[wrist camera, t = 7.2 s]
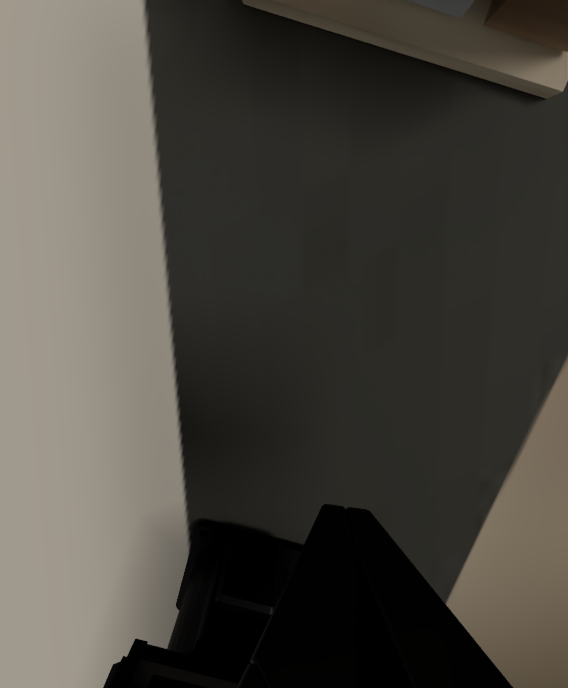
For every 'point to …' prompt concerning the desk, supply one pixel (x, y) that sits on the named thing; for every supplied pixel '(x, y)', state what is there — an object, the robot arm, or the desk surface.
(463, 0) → the slate block
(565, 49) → the walnut block
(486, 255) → the desk surface
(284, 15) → the press panel
